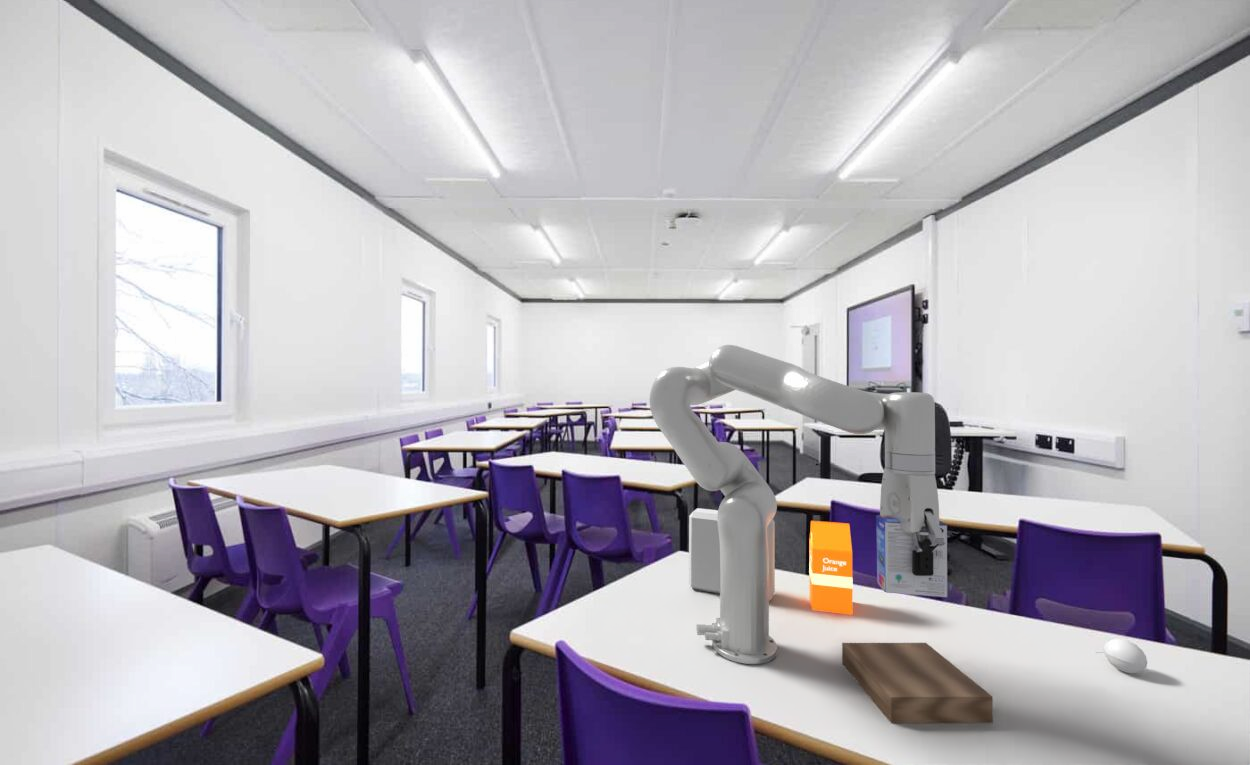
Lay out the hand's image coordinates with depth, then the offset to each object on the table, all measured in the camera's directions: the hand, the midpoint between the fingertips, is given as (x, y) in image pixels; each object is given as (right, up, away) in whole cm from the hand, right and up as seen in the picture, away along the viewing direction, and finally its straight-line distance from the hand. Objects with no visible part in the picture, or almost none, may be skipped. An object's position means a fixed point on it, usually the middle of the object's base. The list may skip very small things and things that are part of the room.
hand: (910, 566), depth 83 cm
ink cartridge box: (0, -4, 0) cm, 4 cm away
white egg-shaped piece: (+43, -22, +6) cm, 48 cm away
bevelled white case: (-22, -22, +40) cm, 51 cm away
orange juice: (0, -22, +33) cm, 39 cm away
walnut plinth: (0, -21, 0) cm, 21 cm away
